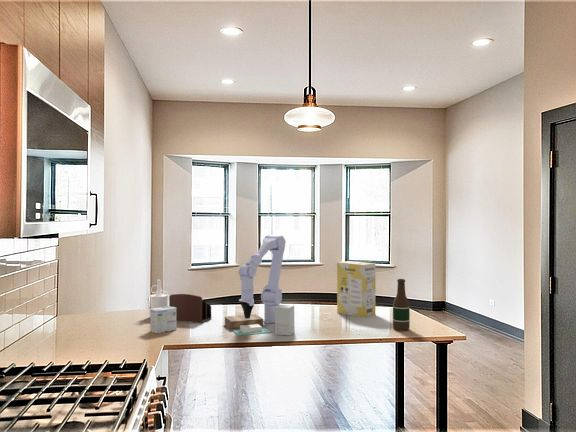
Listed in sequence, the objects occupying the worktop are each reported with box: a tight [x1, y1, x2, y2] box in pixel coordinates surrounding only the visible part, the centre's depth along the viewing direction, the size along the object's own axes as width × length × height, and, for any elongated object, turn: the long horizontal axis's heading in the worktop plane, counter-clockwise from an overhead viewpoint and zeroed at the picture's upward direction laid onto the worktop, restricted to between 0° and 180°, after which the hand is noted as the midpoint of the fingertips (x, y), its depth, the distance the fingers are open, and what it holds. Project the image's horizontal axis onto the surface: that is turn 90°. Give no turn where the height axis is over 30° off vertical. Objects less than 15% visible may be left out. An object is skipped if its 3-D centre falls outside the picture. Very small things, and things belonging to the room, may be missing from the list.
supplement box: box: [274, 304, 296, 336], centre depth 232 cm, size 7×7×13 cm
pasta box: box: [336, 260, 376, 319], centre depth 277 cm, size 18×10×28 cm, turn 44°
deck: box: [224, 313, 264, 331], centre depth 248 cm, size 16×12×4 cm
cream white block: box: [240, 324, 262, 333], centre depth 237 cm, size 9×6×2 cm, turn 112°
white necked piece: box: [149, 279, 171, 309], centre depth 270 cm, size 10×9×20 cm
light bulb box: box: [149, 305, 178, 334], centre depth 238 cm, size 11×7×11 cm, turn 134°
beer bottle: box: [392, 278, 411, 332], centre depth 240 cm, size 8×8×24 cm
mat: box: [231, 326, 272, 337], centre depth 236 cm, size 16×11×1 cm
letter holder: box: [169, 293, 212, 324], centre depth 263 cm, size 10×20×14 cm, turn 68°
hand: (247, 318), depth 242 cm, fingers closed
